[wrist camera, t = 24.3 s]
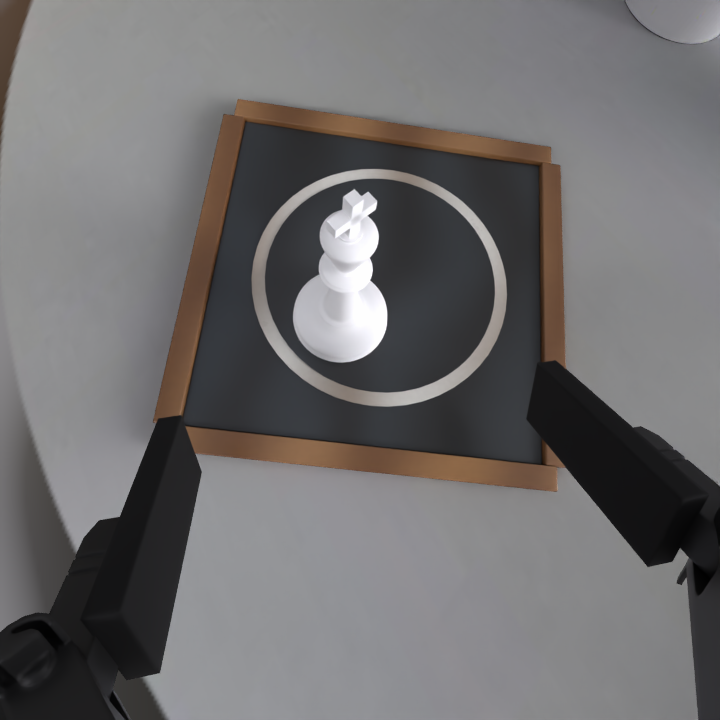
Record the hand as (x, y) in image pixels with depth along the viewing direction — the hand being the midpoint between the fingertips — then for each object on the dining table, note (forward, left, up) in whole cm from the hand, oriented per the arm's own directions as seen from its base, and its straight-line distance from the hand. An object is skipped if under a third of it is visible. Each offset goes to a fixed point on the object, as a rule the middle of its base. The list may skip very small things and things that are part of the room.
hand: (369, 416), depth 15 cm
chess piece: (-2, +6, -5) cm, 8 cm away
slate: (0, +8, -6) cm, 10 cm away
